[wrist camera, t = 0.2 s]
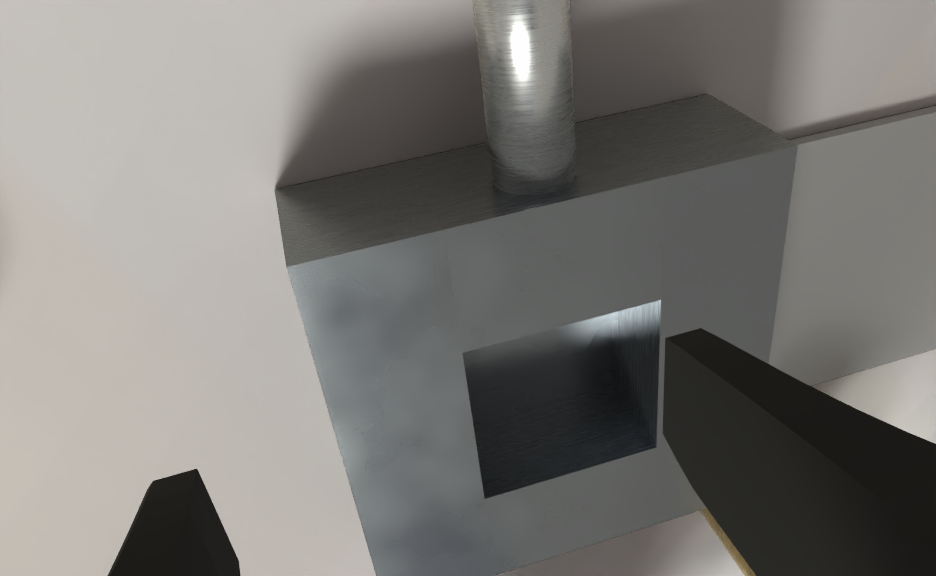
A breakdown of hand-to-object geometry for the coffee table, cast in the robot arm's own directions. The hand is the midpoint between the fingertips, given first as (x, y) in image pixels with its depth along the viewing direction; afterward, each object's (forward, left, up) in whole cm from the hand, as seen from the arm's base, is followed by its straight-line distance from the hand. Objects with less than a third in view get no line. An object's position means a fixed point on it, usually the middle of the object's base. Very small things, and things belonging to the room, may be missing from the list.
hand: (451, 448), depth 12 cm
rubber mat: (-7, -16, -10) cm, 20 cm away
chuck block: (-2, -4, -10) cm, 11 cm away
